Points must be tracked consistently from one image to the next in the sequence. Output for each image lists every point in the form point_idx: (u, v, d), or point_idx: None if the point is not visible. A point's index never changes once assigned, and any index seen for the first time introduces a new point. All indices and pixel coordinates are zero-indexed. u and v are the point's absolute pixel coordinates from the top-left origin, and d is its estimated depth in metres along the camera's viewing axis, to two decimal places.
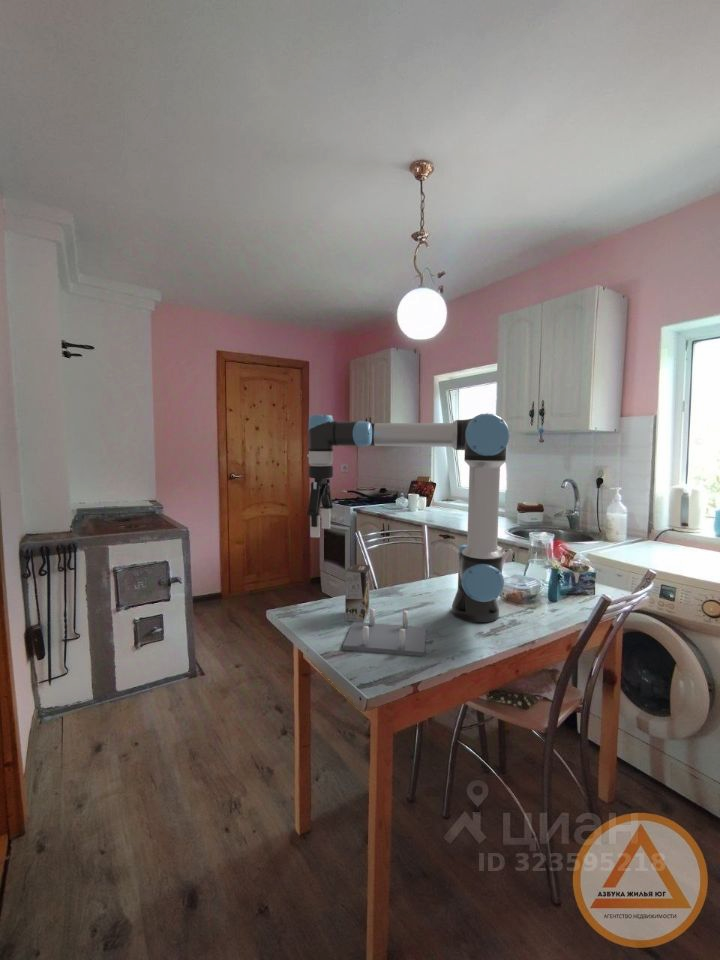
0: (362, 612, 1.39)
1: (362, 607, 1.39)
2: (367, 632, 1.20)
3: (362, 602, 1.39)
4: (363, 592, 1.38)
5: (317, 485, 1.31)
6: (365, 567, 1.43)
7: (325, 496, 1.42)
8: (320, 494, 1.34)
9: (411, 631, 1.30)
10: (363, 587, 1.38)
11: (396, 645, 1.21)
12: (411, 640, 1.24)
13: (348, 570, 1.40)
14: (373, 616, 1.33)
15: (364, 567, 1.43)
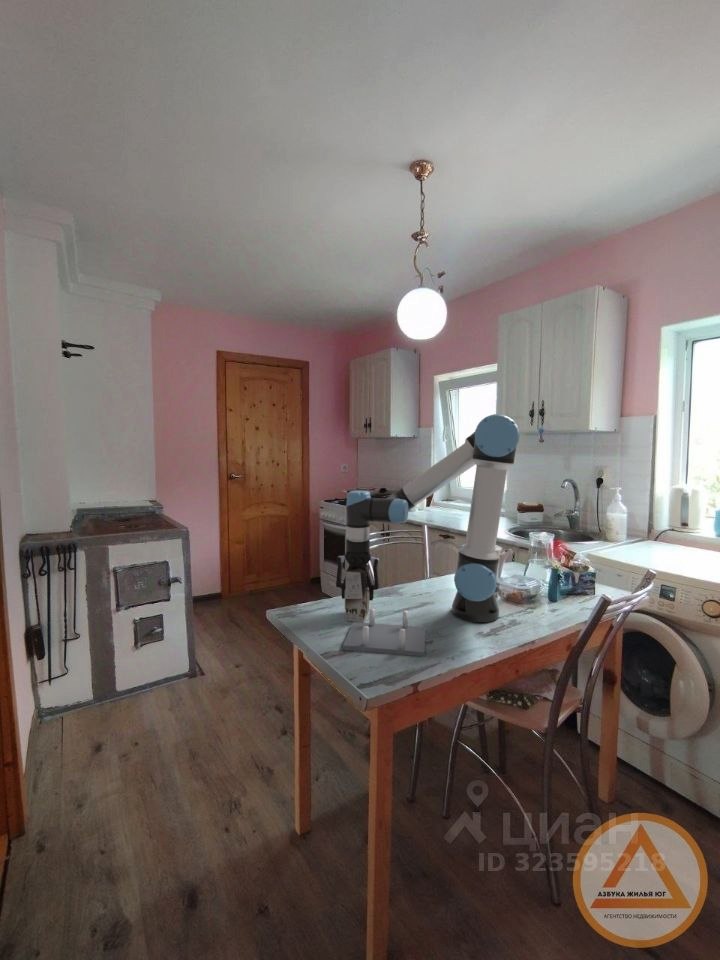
0: (362, 612, 1.39)
1: (362, 607, 1.39)
2: (367, 632, 1.20)
3: (362, 602, 1.39)
4: (363, 592, 1.38)
5: None
6: None
7: None
8: (348, 568, 1.42)
9: (411, 631, 1.30)
10: (363, 587, 1.38)
11: (396, 645, 1.21)
12: (411, 640, 1.24)
13: (348, 570, 1.40)
14: (373, 616, 1.33)
15: None
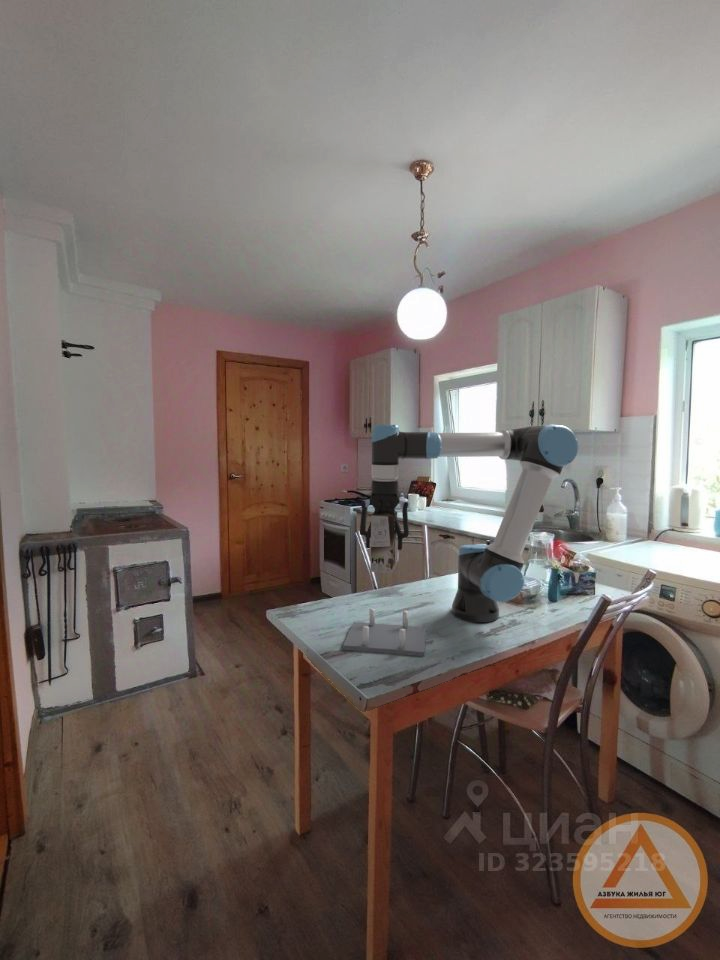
0: (390, 562, 1.22)
1: (390, 556, 1.21)
2: (367, 632, 1.20)
3: (390, 550, 1.21)
4: (391, 539, 1.21)
5: None
6: None
7: None
8: (373, 513, 1.25)
9: (411, 631, 1.30)
10: (391, 533, 1.21)
11: (396, 645, 1.21)
12: (411, 640, 1.24)
13: (374, 514, 1.23)
14: (373, 616, 1.33)
15: None
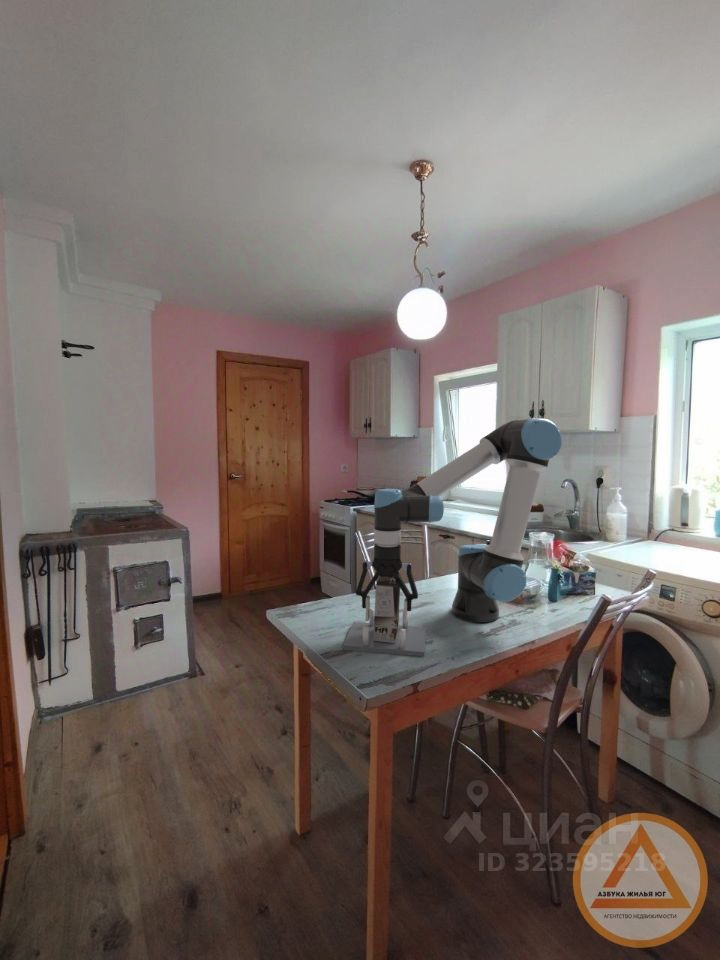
0: (393, 632, 1.22)
1: (394, 626, 1.21)
2: (367, 632, 1.20)
3: (394, 620, 1.21)
4: (395, 609, 1.21)
5: None
6: None
7: None
8: (374, 575, 1.25)
9: (411, 631, 1.30)
10: (395, 603, 1.21)
11: (396, 645, 1.21)
12: (411, 640, 1.24)
13: (378, 583, 1.23)
14: (373, 616, 1.33)
15: None
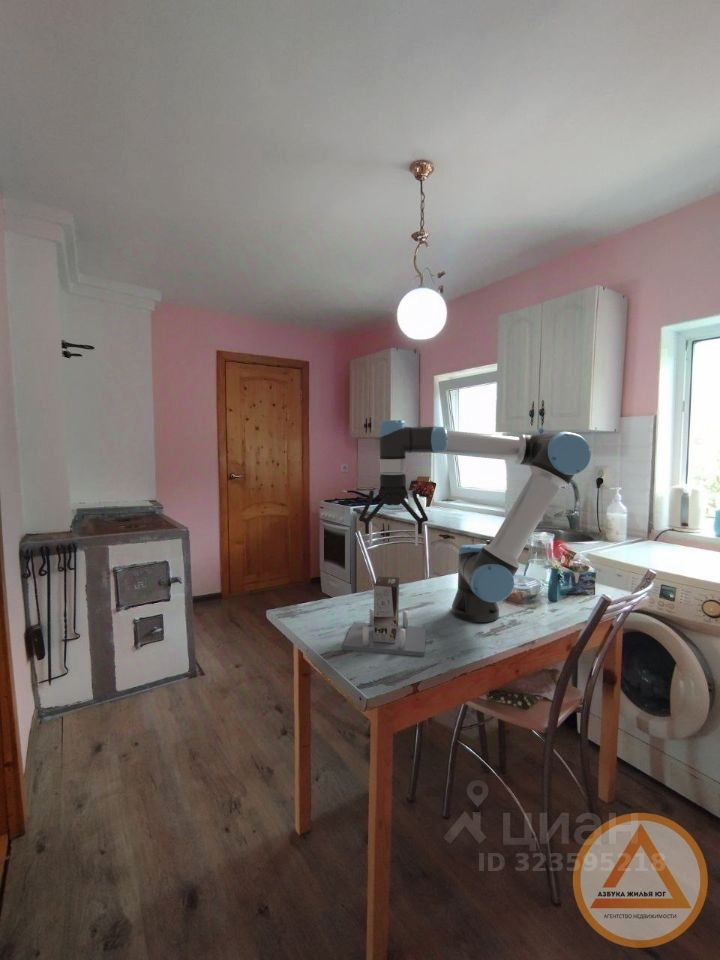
0: (393, 632, 1.22)
1: (393, 626, 1.22)
2: (367, 632, 1.20)
3: (393, 620, 1.21)
4: (394, 609, 1.21)
5: None
6: (395, 580, 1.26)
7: None
8: (379, 503, 1.30)
9: (411, 631, 1.30)
10: (394, 603, 1.21)
11: (396, 645, 1.21)
12: (411, 640, 1.24)
13: (377, 583, 1.23)
14: (373, 616, 1.33)
15: (394, 580, 1.26)
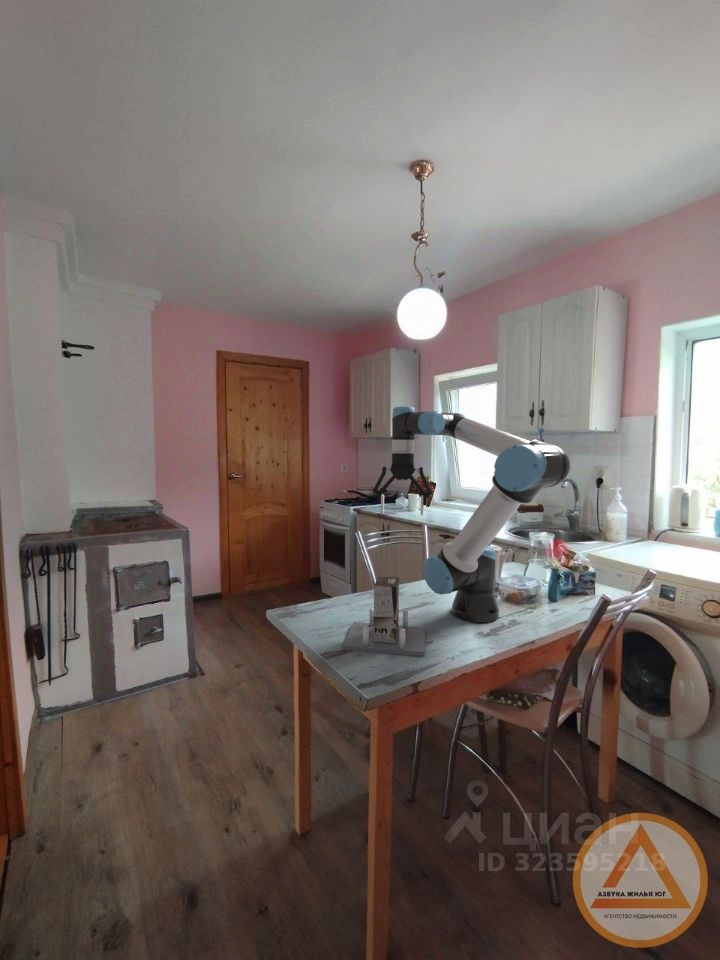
0: (393, 632, 1.22)
1: (393, 626, 1.22)
2: (367, 632, 1.20)
3: (393, 620, 1.21)
4: (394, 609, 1.21)
5: None
6: (395, 580, 1.26)
7: (413, 482, 1.51)
8: None
9: (411, 631, 1.30)
10: (394, 603, 1.21)
11: (396, 645, 1.21)
12: (411, 640, 1.24)
13: (377, 583, 1.23)
14: (373, 616, 1.33)
15: (394, 580, 1.26)
